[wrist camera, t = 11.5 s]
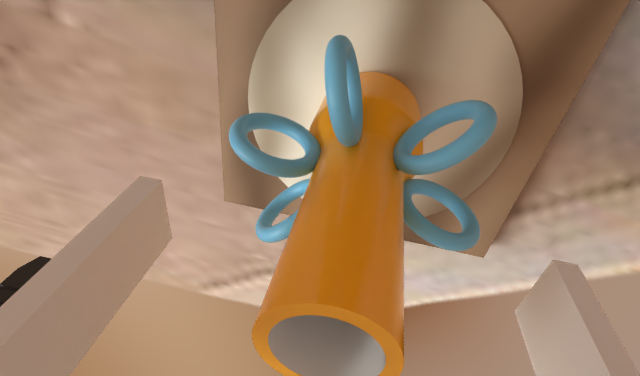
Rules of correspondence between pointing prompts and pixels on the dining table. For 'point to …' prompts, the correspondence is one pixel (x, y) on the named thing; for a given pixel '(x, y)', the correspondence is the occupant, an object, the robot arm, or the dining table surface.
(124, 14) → the dining table surface
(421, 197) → the board
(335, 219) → the cylinder
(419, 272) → the dining table surface
